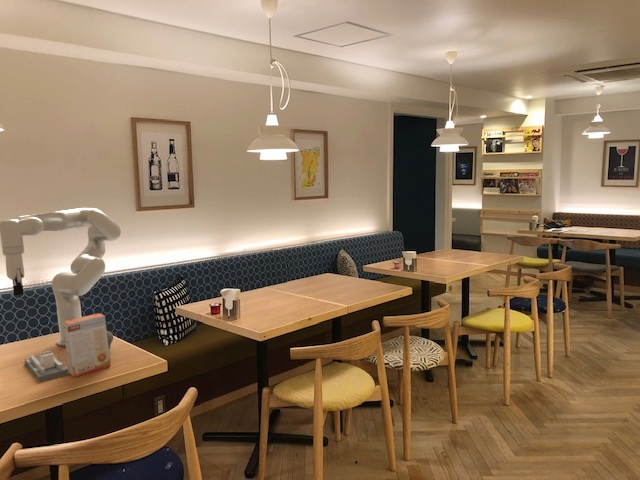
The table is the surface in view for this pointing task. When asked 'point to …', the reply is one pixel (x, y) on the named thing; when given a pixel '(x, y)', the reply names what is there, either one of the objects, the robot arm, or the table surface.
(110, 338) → the light bulb
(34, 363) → the switch panel
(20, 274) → the robot arm
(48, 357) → the switch tab
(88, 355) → the cracker box
